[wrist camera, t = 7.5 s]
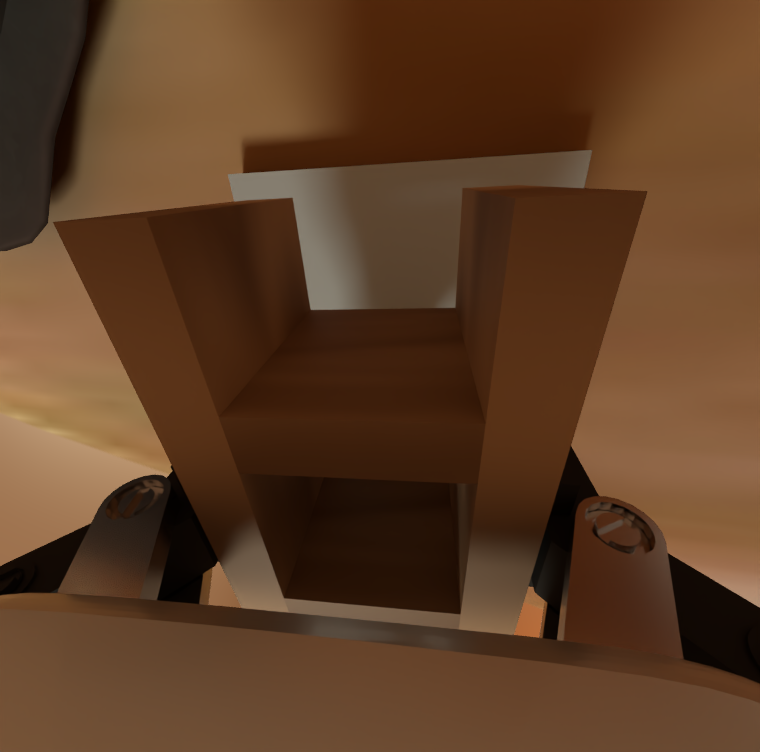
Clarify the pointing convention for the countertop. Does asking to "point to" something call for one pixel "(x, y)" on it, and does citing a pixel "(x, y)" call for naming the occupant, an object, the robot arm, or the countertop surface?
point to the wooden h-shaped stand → (365, 397)
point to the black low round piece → (33, 106)
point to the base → (394, 222)
